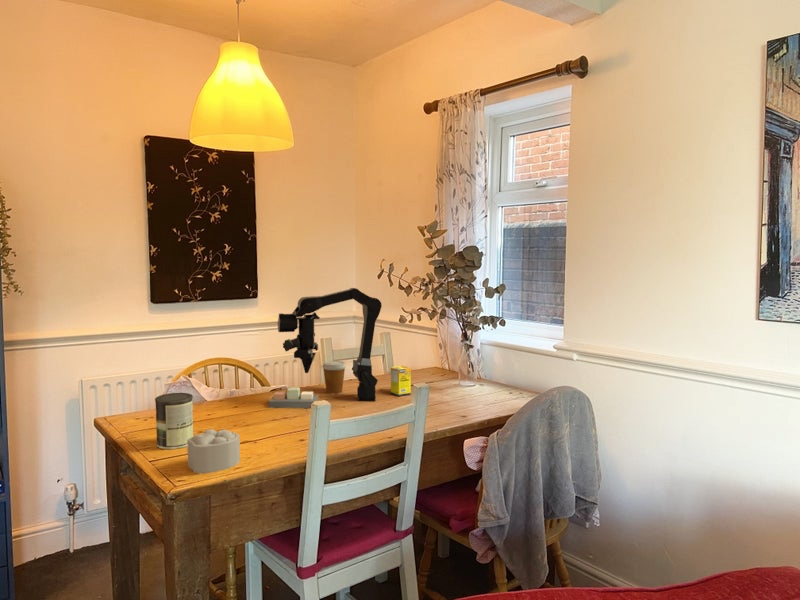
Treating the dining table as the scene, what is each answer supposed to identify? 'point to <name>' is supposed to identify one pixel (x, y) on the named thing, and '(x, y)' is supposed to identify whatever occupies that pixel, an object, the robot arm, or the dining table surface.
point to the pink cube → (280, 395)
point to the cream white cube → (307, 396)
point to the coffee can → (174, 420)
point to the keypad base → (291, 403)
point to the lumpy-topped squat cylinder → (213, 451)
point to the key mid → (293, 393)
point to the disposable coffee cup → (334, 376)
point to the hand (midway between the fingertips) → (306, 372)
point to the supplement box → (400, 380)
